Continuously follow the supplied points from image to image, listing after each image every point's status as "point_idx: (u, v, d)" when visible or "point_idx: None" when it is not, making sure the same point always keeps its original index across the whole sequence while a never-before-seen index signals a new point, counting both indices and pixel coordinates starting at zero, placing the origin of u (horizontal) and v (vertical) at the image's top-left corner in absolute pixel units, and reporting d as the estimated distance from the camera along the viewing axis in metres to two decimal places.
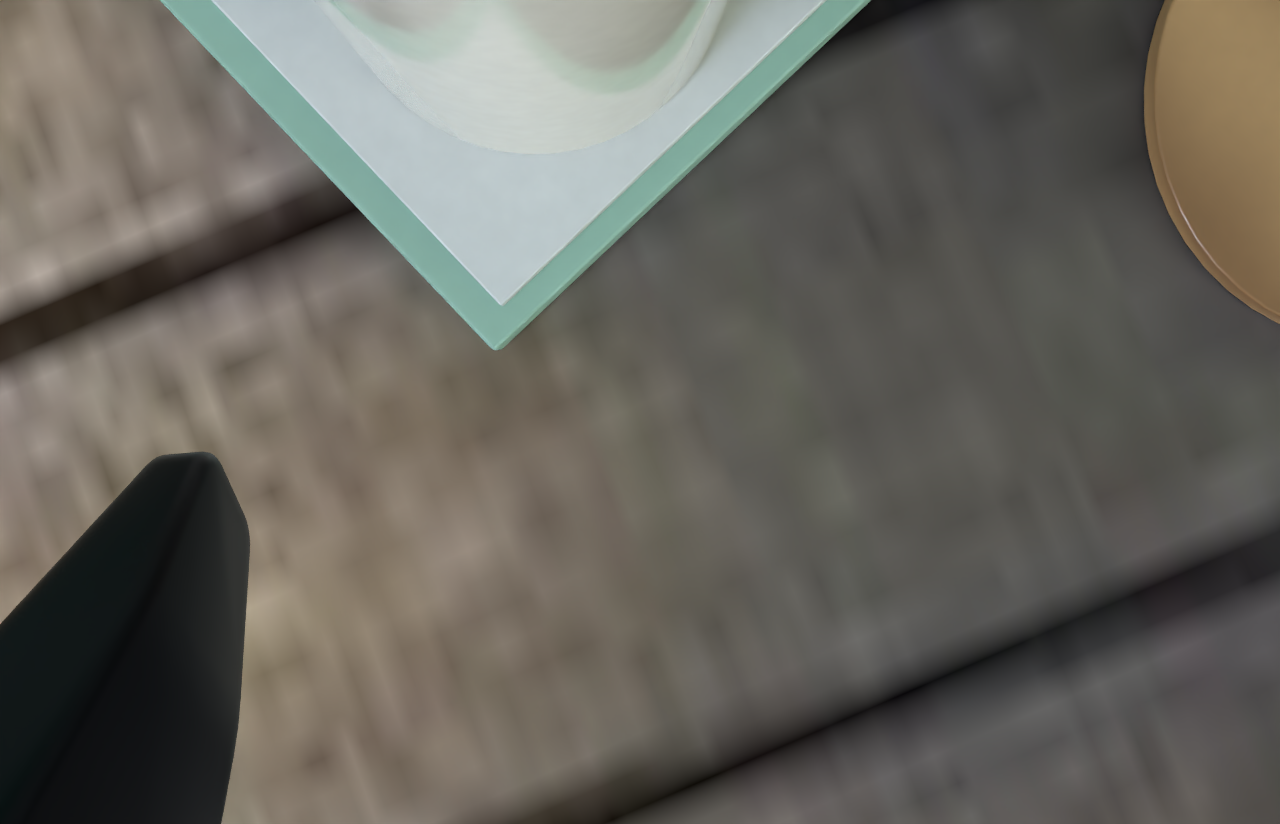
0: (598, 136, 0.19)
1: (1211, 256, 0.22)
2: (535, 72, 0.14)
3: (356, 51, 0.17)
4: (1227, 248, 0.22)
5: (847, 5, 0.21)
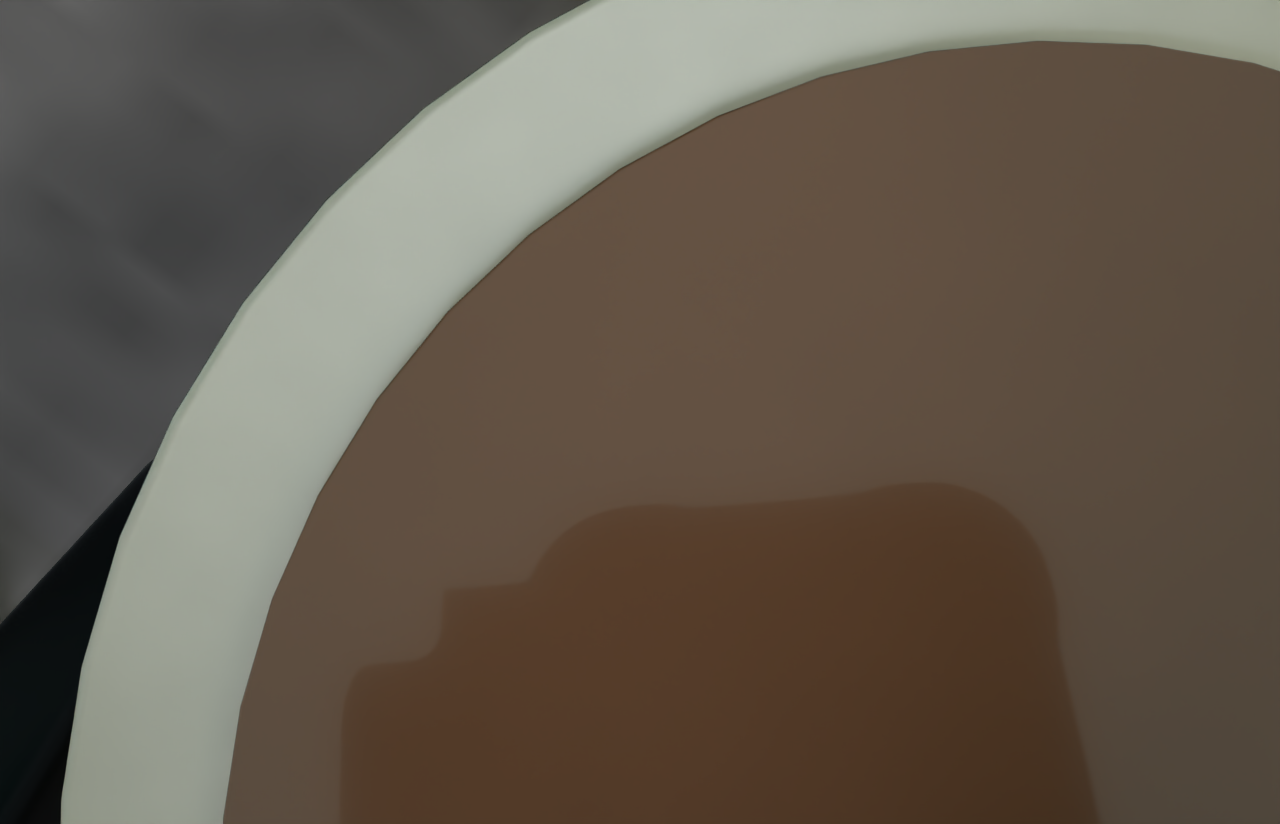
0: None
1: None
2: None
3: None
4: None
5: None
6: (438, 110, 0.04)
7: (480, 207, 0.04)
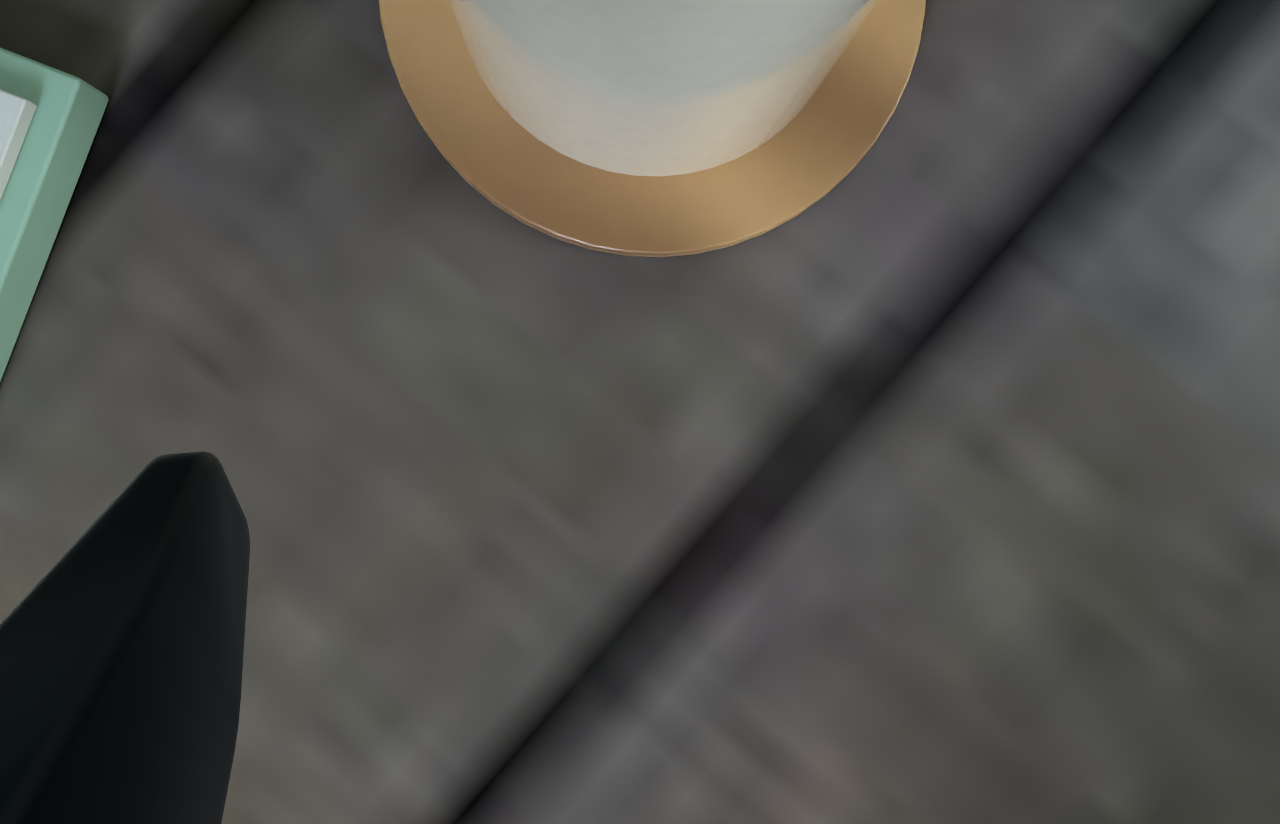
0: (710, 160, 0.19)
1: (546, 228, 0.20)
2: (687, 77, 0.14)
3: (486, 57, 0.17)
4: (557, 213, 0.20)
5: (34, 169, 0.19)
6: None
7: None
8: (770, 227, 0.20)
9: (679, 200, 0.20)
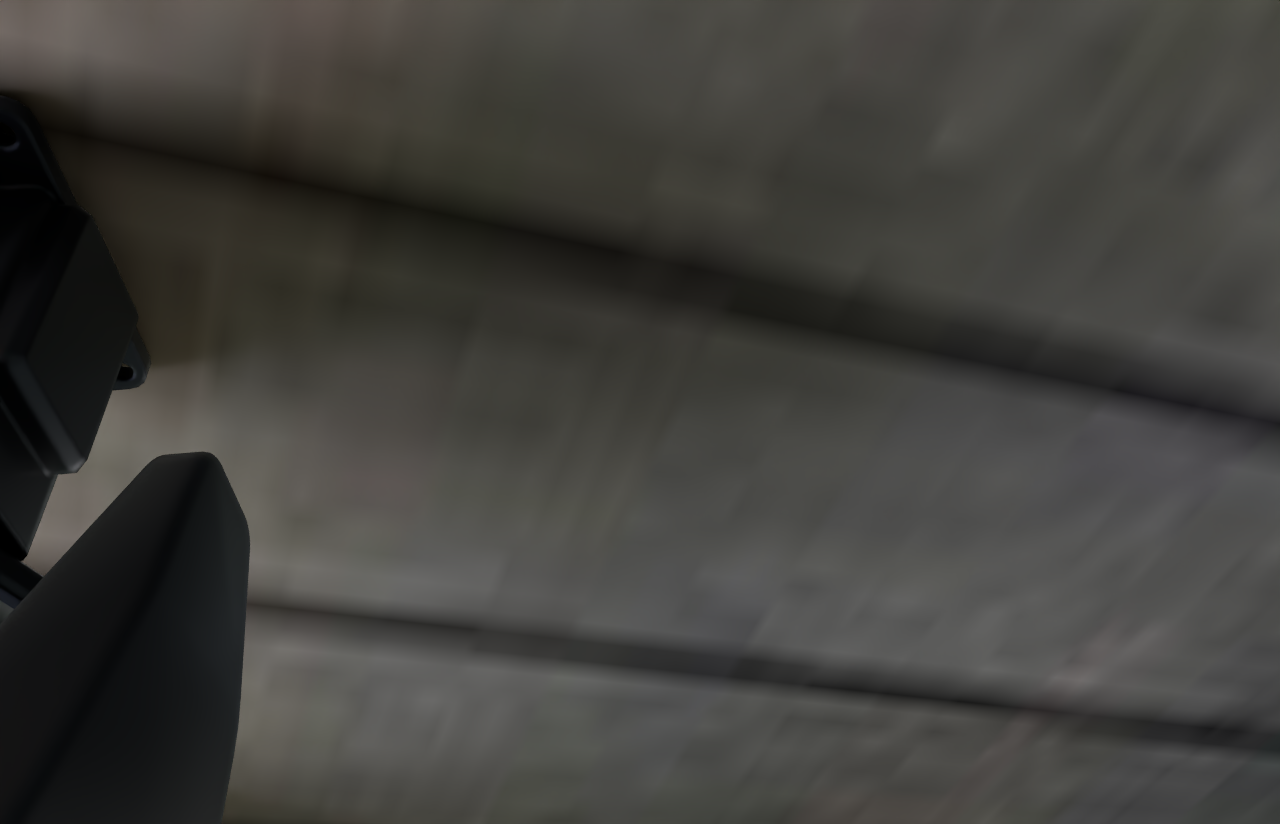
0: None
1: None
2: None
3: None
4: None
5: None
6: None
7: None
8: None
9: None
